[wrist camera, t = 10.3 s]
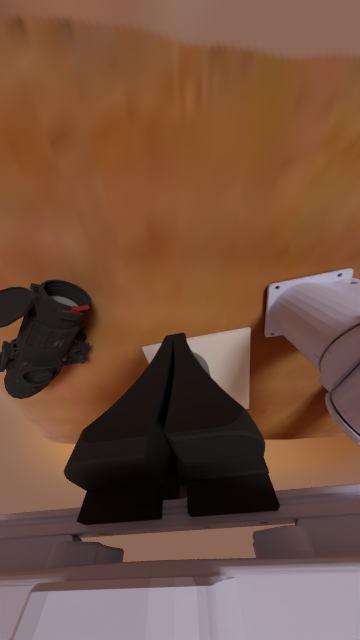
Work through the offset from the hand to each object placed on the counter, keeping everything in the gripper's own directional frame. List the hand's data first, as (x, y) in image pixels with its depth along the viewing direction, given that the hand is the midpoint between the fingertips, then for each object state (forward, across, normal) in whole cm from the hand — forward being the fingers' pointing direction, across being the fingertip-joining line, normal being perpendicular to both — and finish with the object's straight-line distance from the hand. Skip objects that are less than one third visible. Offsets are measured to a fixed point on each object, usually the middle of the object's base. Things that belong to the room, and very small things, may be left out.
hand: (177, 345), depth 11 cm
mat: (+10, -1, +17) cm, 20 cm away
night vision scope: (+10, +16, +1) cm, 19 cm away
